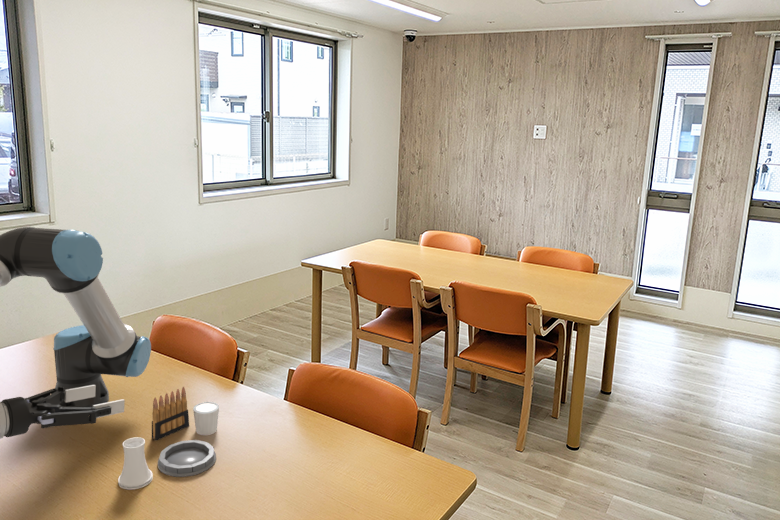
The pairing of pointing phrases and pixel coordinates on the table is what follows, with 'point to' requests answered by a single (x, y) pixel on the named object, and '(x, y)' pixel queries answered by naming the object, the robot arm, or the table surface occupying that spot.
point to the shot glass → (206, 417)
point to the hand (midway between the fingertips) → (108, 397)
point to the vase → (134, 465)
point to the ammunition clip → (169, 415)
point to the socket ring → (186, 458)
